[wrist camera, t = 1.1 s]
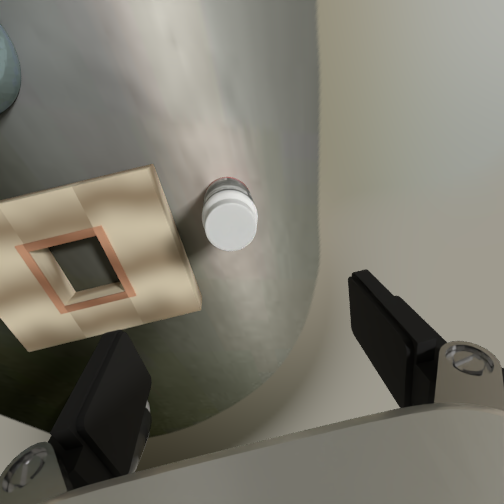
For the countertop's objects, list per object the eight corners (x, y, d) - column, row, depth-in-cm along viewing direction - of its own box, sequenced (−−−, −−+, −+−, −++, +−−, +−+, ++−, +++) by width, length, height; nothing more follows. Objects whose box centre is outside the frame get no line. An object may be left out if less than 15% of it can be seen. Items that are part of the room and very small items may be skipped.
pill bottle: (245, 224, 30) (254, 260, 22) (201, 216, 29) (196, 252, 22) (254, 180, 28) (268, 205, 20) (208, 171, 27) (204, 193, 20)
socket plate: (-54, 213, 26) (-81, 223, 24) (153, 163, 26) (146, 168, 24) (41, 336, 33) (27, 353, 31) (202, 297, 33) (201, 310, 31)
